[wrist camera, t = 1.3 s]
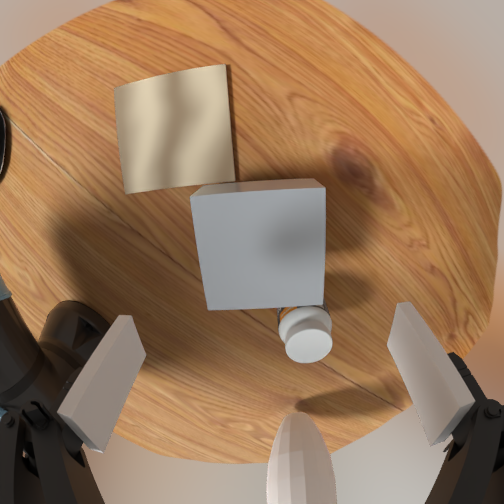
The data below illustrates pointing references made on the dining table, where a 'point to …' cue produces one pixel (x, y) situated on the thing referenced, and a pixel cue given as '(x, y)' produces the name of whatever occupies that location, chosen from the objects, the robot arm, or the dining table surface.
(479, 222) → the dining table surface
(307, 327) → the pill bottle
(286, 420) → the cup
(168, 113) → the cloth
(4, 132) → the soup bowl
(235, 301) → the grey cover
